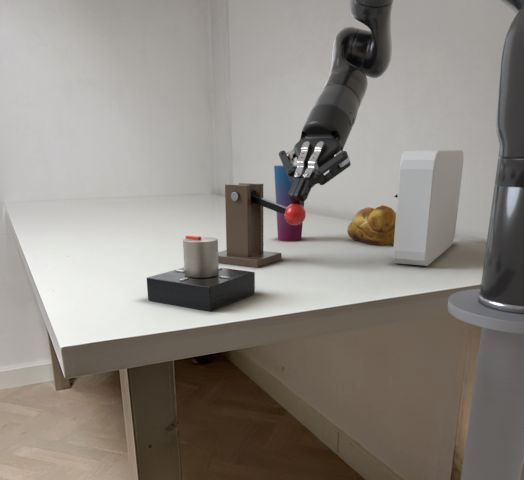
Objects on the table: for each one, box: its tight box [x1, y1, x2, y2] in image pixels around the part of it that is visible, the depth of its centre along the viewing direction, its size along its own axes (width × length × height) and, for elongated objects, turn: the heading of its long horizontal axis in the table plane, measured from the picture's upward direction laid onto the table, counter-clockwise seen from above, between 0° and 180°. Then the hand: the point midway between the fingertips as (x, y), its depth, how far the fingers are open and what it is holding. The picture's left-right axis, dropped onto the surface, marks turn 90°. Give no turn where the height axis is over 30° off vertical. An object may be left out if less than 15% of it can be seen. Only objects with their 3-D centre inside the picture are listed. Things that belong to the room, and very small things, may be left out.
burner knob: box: [182, 234, 220, 278], centre depth 71 cm, size 4×4×5 cm
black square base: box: [146, 267, 256, 312], centre depth 72 cm, size 10×10×3 cm
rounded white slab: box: [392, 149, 464, 267], centre depth 100 cm, size 29×8×18 cm, turn 153°
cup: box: [273, 164, 305, 242], centre depth 116 cm, size 7×7×15 cm
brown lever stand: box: [218, 182, 283, 268], centre depth 94 cm, size 10×8×13 cm
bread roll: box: [346, 204, 396, 246], centre depth 114 cm, size 13×10×8 cm
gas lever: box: [251, 189, 307, 225], centre depth 91 cm, size 13×3×3 cm, turn 58°
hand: (295, 200), depth 88 cm, fingers closed
